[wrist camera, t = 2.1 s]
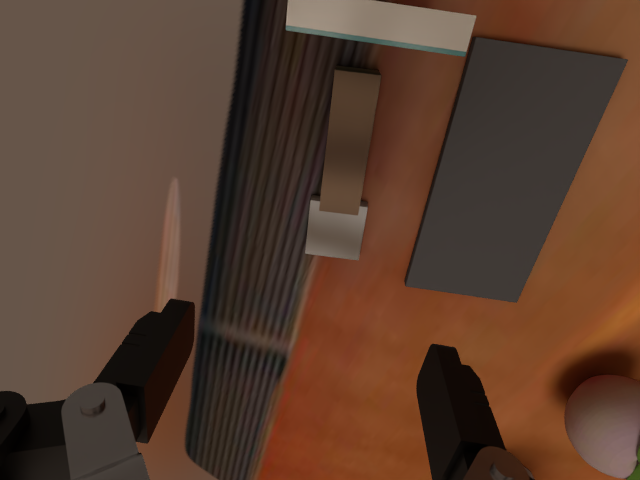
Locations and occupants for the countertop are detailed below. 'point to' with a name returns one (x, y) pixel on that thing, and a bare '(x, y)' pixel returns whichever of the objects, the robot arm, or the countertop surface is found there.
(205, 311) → the countertop surface
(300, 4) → the tile
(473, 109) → the mat
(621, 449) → the decorative fruit
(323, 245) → the tan two-tone long part
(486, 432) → the robot arm
